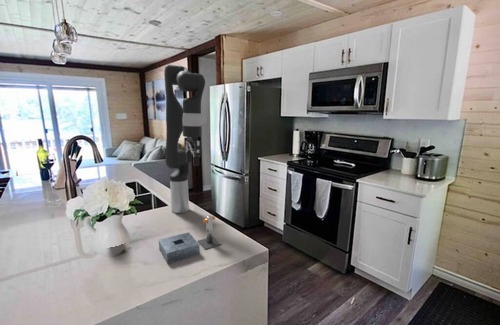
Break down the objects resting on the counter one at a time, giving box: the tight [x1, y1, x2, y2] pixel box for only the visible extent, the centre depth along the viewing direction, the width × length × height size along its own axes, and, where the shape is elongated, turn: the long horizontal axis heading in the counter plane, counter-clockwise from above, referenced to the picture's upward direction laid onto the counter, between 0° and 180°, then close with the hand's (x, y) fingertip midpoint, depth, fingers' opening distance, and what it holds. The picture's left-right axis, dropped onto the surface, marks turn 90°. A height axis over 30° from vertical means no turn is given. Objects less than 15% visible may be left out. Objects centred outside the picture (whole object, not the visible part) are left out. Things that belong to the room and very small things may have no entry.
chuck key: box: [202, 215, 216, 244], centre depth 105 cm, size 5×2×11 cm, turn 136°
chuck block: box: [158, 232, 201, 265], centre depth 99 cm, size 12×12×4 cm
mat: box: [197, 236, 222, 250], centre depth 106 cm, size 8×7×1 cm
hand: (192, 163), depth 109 cm, fingers open, 8 cm apart
